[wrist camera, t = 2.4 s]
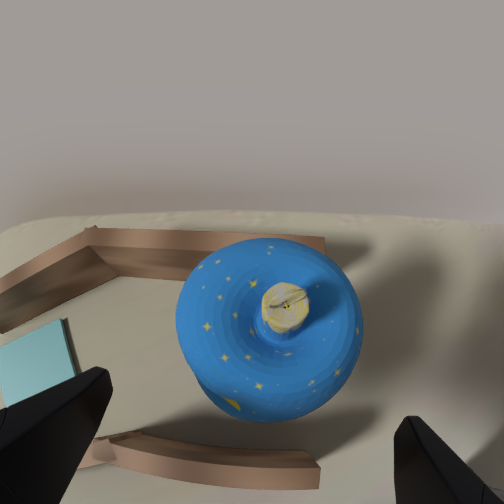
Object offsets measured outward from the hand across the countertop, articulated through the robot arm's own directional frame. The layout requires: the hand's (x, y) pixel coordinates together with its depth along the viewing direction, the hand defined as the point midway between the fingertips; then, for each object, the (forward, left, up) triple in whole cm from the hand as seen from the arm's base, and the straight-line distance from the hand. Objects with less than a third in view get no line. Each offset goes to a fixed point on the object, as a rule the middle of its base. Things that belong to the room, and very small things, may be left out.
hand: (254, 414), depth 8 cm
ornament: (+1, -2, -11) cm, 11 cm away
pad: (+13, +10, -11) cm, 20 cm away
